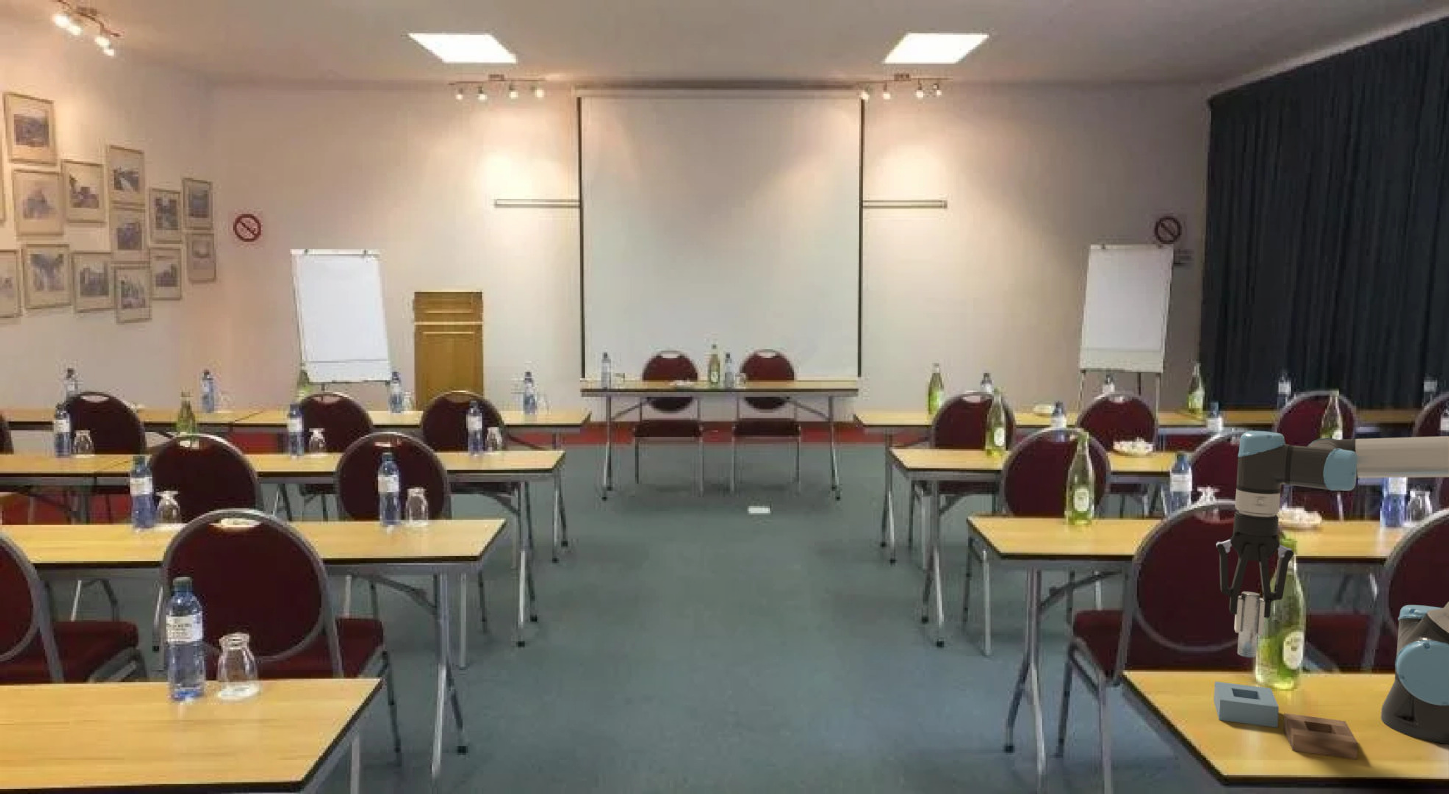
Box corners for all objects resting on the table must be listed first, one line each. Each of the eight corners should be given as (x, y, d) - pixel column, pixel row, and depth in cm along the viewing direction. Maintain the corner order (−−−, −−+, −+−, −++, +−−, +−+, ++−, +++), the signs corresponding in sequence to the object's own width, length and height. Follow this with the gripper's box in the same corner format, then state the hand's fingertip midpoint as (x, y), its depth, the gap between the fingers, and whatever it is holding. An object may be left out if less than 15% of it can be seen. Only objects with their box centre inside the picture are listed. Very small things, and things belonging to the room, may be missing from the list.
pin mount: (1344, 736, 191) (1345, 721, 191) (1356, 759, 182) (1357, 743, 181) (1283, 728, 194) (1284, 713, 194) (1292, 750, 185) (1293, 734, 185)
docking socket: (1269, 708, 204) (1270, 688, 204) (1277, 727, 195) (1278, 707, 194) (1213, 700, 208) (1214, 681, 207) (1219, 719, 198) (1220, 699, 198)
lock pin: (1254, 652, 201) (1259, 592, 200) (1257, 658, 198) (1261, 597, 197) (1236, 650, 202) (1240, 590, 201) (1238, 656, 199) (1242, 595, 198)
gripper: (1211, 512, 196) (1203, 632, 199) (1308, 520, 191) (1299, 643, 193) (1208, 505, 203) (1200, 620, 206) (1301, 512, 198) (1292, 631, 200)
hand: (1248, 631), depth 200 cm, fingers closed on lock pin, 3 cm apart
